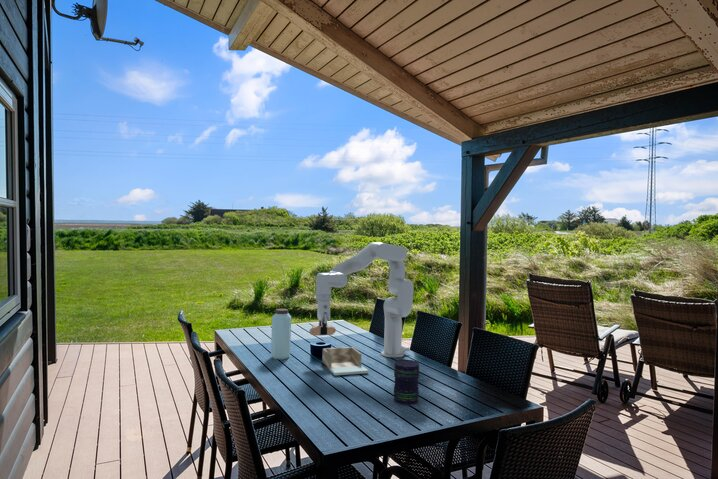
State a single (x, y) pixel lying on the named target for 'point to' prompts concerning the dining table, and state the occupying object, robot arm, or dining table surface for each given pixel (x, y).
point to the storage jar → (406, 382)
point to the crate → (341, 357)
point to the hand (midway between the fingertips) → (322, 333)
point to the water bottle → (281, 334)
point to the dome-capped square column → (317, 330)
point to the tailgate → (348, 370)
